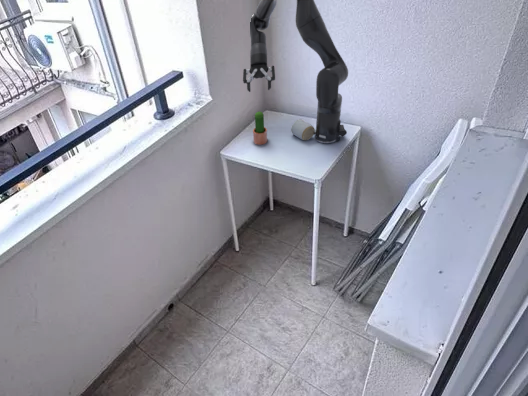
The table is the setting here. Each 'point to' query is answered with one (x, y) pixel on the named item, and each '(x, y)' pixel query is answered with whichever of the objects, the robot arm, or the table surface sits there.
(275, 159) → the table surface
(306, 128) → the ceramic mug
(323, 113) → the robot arm
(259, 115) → the cucumber
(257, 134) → the cup
